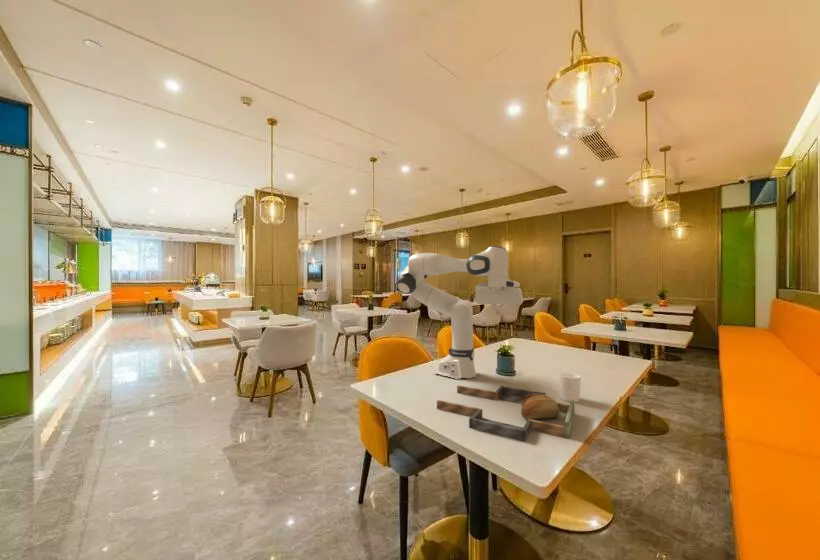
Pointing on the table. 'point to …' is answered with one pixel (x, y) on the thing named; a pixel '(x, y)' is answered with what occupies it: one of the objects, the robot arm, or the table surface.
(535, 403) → the bread roll
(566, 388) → the white cup
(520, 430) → the box
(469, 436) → the table surface
